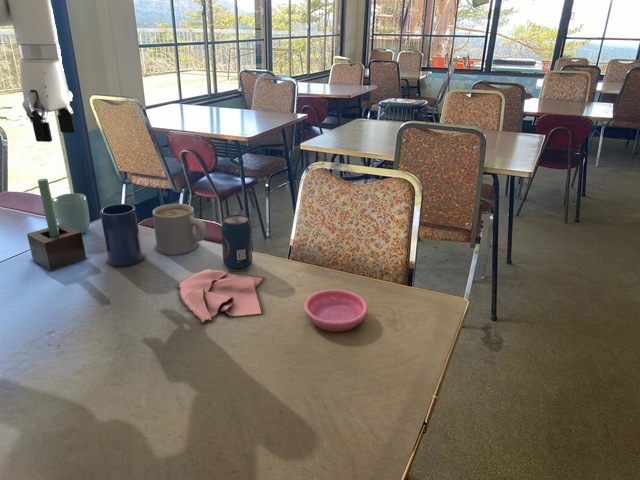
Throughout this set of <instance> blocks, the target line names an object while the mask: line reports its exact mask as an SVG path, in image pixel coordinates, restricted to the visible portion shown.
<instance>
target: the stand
mask: <svg viewBox="0 0 640 480" xmlns="http://www.w3.org/2000/svg"><path fill="white" fill-rule="evenodd" d="M57 225H58V230H59V236H56V237H52V238H50V234H49V229H48V227H46V228H42V229H39V230H35V231H32V232H28V233H26V236H27V237H26V238H27V240H28V244H29V249H30V254H31V257H32V260H33V262H35V263H37V264H39V265H40V266H42V267H43V268H45V269H47V270H48V271H50V272H52V271H55V270H57V269H60V268H63V267H66V266H68V265H71V264H75V263H78V262H80V261H83V260H86V259H87V254H86V249H85V244H84V239H83V233H81V232H80V231H78V230H76V229H74V228H72V227H70V226H68V225H65V224H57Z"/></svg>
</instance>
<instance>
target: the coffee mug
mask: <svg viewBox="0 0 640 480" xmlns="http://www.w3.org/2000/svg"><path fill="white" fill-rule="evenodd" d="M152 219H153V228H154V235H155V243H156V250H157V251H158V252H159V253H160V254H165V255H183V254H186V253H189V252H192V251H193V250H195V249H196V248H197V246H198V243H200V242H202V241H203V240H205V238H206V236H207V228H206V224H205V222H204V221H203V220H201V219H199V218H196V217H195V210H194V207H193V206H192V205H189V204H186V203H168V204H163V205H159V206H157V207H155V208H154V209H152ZM196 225H197V227H198V228H199V234H198V233H197V231H196Z"/></svg>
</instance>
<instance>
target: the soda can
mask: <svg viewBox="0 0 640 480" xmlns="http://www.w3.org/2000/svg"><path fill="white" fill-rule="evenodd" d="M249 220H250V219H249V217H248V216H246V215H244V214H231V215H227V216H225V217H224V218H223V221H222V223H221V225H220V229H221V249H222V250H221V251H222V263H223V265H224V266H225V268H226V269H227V270H229V271H233V272H240V271H241V272H242V271H246V270H248V269H249V268H250V266H251V265H252V263H253V235H252V233H253V232H252V231H253V230H252V223H251V222H250V221H249Z"/></svg>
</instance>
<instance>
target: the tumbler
mask: <svg viewBox="0 0 640 480" xmlns="http://www.w3.org/2000/svg"><path fill="white" fill-rule="evenodd" d="M99 214H100V220H101V227H102V231H103V236H104V242H105V249H106V255H107V259H108V263H109V264H110V265H111V266H113V267H127V266H132V265H135V264H137V263H140V262H141V261H142V259H143V251H142V243H141V237H140V230H139V223H138V216H137V209H136V206H135V205H133V204H130V203H115V204H110V205H107V206H104V207H102V208H101V209H100V210H99Z"/></svg>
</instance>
